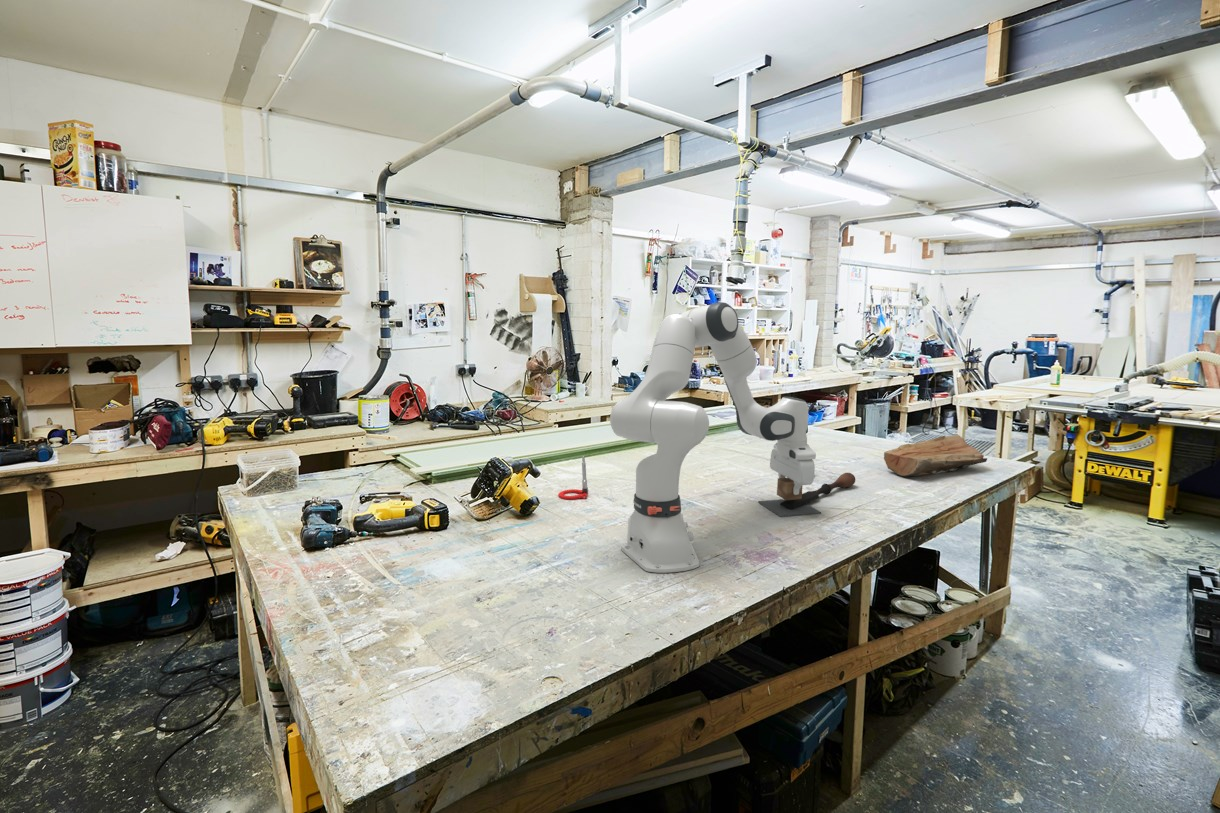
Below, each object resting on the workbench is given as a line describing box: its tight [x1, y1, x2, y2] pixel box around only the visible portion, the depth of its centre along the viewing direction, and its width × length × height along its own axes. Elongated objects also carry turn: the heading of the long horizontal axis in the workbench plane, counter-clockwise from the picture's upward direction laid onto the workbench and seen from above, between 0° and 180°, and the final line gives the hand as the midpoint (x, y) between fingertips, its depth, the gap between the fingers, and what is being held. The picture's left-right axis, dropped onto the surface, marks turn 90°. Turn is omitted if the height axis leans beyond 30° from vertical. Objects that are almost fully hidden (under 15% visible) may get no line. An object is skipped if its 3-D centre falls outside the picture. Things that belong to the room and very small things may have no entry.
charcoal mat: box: [757, 498, 822, 518], centre depth 180 cm, size 14×14×1 cm
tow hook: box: [558, 455, 589, 500], centre depth 191 cm, size 9×14×10 cm
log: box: [883, 434, 988, 478], centre depth 224 cm, size 42×17×15 cm, turn 111°
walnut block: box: [776, 477, 803, 500], centre depth 180 cm, size 6×6×6 cm
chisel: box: [780, 472, 856, 509], centre depth 192 cm, size 5×43×5 cm, turn 131°
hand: (789, 490), depth 180 cm, fingers closed on walnut block, 5 cm apart
